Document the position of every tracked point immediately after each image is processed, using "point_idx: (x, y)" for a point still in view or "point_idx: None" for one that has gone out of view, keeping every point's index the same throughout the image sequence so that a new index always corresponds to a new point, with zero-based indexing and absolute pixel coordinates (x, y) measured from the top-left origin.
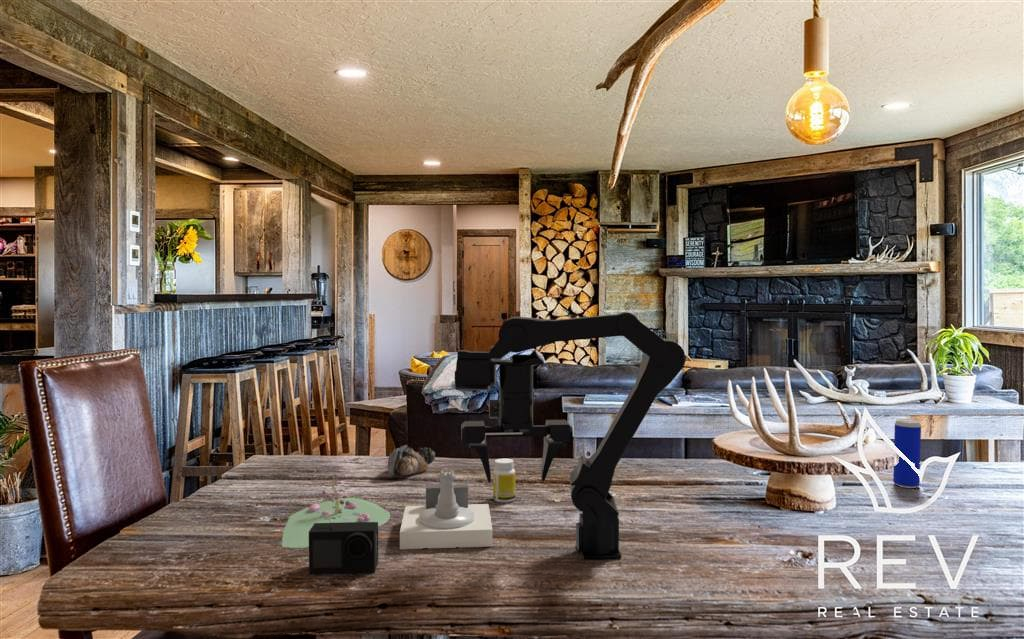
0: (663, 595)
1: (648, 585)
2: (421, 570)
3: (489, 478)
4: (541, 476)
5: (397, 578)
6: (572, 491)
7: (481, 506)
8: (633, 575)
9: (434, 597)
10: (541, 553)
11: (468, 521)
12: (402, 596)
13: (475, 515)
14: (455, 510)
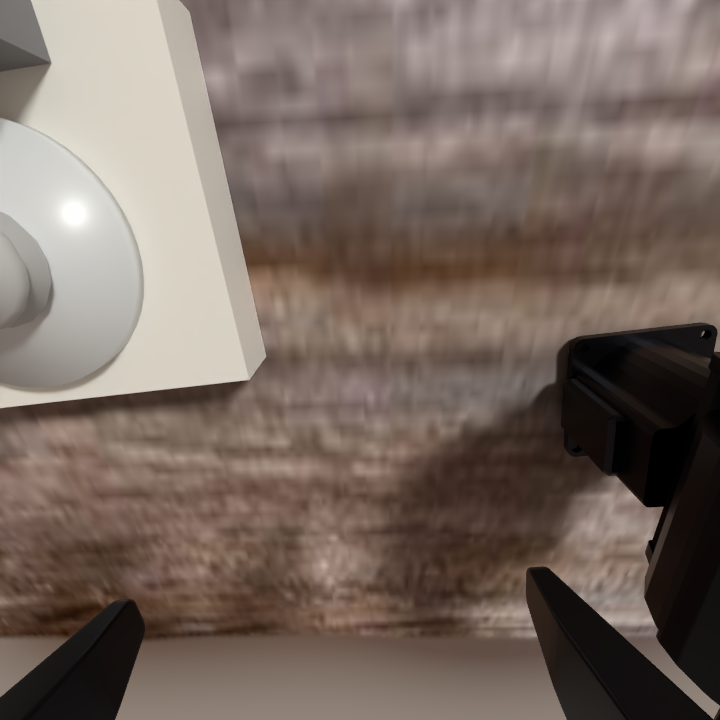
0: None
1: None
2: (103, 519)
3: (123, 674)
4: (537, 604)
5: (64, 558)
6: (688, 676)
7: (120, 27)
8: None
9: (186, 630)
10: (434, 405)
11: (129, 331)
12: None
13: (132, 201)
14: (26, 299)
